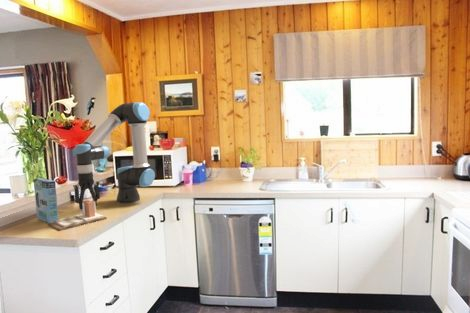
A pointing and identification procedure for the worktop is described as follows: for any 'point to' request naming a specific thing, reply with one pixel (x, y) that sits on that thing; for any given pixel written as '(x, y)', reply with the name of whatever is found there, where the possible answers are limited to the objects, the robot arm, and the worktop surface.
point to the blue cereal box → (46, 200)
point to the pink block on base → (89, 212)
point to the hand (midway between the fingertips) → (89, 213)
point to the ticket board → (71, 222)
